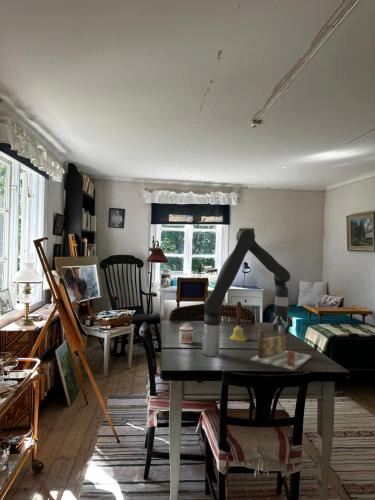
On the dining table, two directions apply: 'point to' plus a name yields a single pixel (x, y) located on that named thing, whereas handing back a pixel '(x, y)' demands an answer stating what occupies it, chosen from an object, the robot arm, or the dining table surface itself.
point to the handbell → (238, 326)
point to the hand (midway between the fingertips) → (281, 332)
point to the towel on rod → (279, 356)
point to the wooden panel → (275, 344)
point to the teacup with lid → (186, 334)
